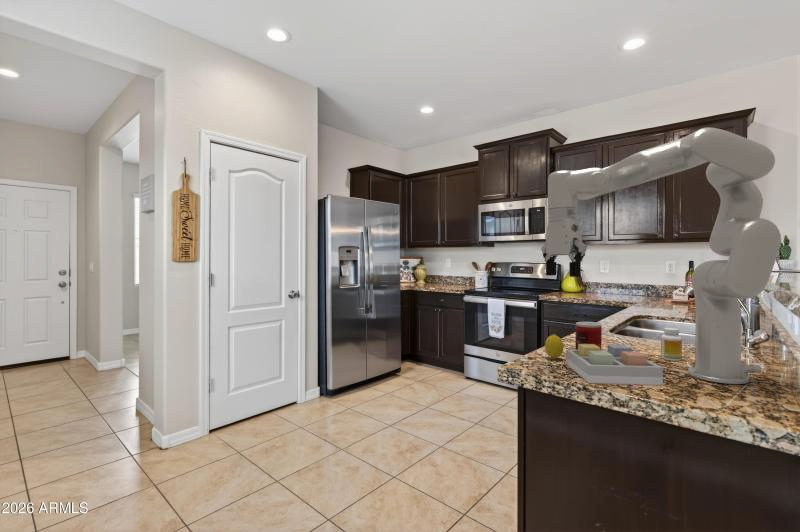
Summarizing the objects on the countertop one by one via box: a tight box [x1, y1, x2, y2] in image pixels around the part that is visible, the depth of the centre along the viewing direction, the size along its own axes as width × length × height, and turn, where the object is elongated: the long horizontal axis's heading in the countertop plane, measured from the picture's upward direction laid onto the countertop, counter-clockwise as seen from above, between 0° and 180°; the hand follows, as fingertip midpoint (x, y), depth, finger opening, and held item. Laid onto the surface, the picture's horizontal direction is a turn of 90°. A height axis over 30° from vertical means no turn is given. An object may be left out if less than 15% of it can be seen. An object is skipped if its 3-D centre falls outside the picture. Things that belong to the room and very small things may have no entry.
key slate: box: [607, 344, 633, 357], centre depth 111 cm, size 5×5×3 cm
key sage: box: [589, 351, 613, 365], centre depth 103 cm, size 5×5×3 cm
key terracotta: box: [621, 351, 648, 366], centre depth 103 cm, size 5×5×3 cm
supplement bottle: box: [660, 327, 683, 362], centre depth 122 cm, size 5×5×10 cm
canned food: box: [575, 321, 603, 350], centre depth 126 cm, size 8×8×11 cm
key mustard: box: [578, 344, 600, 357], centre depth 112 cm, size 5×5×3 cm
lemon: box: [544, 333, 564, 360], centre depth 123 cm, size 6×6×8 cm
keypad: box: [566, 349, 664, 386], centre depth 107 cm, size 18×18×4 cm
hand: (562, 275), depth 108 cm, fingers open, 9 cm apart
